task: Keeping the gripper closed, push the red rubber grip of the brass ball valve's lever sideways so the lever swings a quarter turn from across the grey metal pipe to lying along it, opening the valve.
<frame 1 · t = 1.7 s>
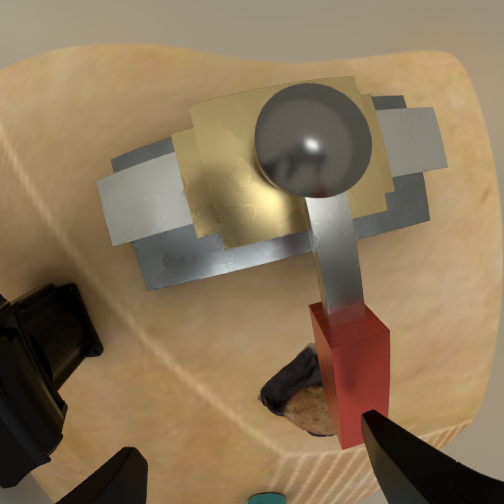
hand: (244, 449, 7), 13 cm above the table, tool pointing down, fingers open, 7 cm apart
tube: (265, 498, 26), on the table
valve stand: (275, 168, 18), on the table
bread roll: (325, 391, 23), on the table
valve lever: (340, 287, 9), point 11 cm above the table, hinge at 0.0°
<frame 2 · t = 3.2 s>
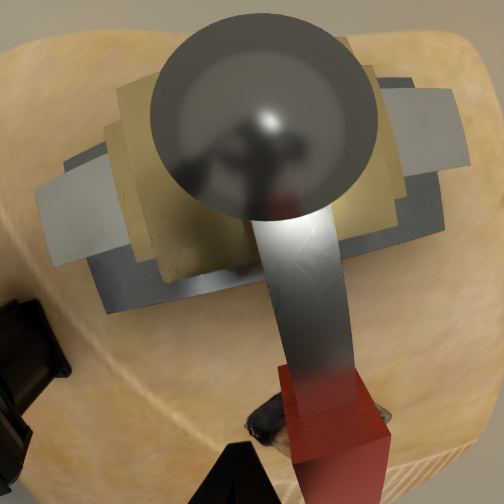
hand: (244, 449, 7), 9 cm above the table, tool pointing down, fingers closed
valve stand: (253, 167, 14), on the table
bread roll: (320, 419, 19), on the table
valve lever: (318, 360, 5), point 10 cm above the table, hinge at 0.2°, touching gripper
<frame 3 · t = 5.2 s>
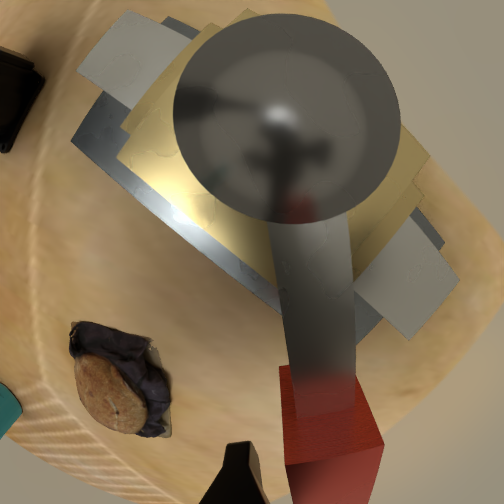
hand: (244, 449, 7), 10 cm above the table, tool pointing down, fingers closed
tube: (9, 396, 21), on the table
valve stand: (270, 164, 14), on the table
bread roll: (124, 381, 19), on the table
valve lever: (320, 364, 5), point 10 cm above the table, hinge at 49.6°, touching gripper
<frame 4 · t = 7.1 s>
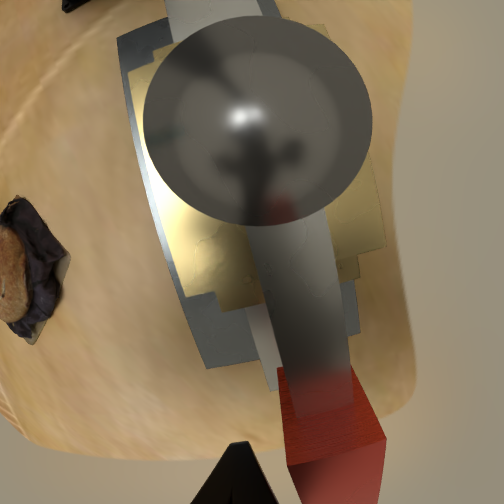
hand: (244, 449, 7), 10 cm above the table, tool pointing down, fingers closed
valve stand: (255, 167, 14), on the table
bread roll: (25, 272, 17), on the table
valve lever: (315, 362, 5), point 11 cm above the table, hinge at 90.1°, touching gripper
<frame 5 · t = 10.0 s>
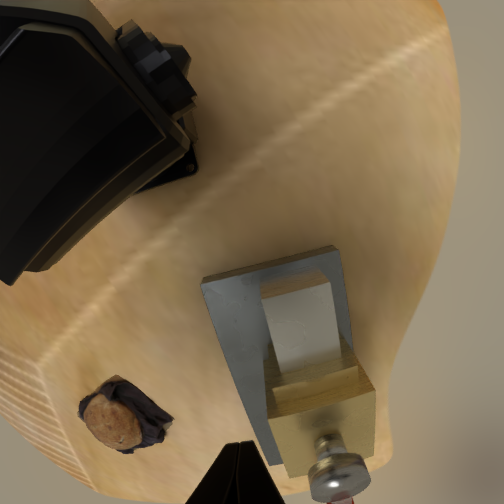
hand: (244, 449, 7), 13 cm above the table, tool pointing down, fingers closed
valve stand: (308, 374, 21), on the table
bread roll: (123, 414, 23), on the table
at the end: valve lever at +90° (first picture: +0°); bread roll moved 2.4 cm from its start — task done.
